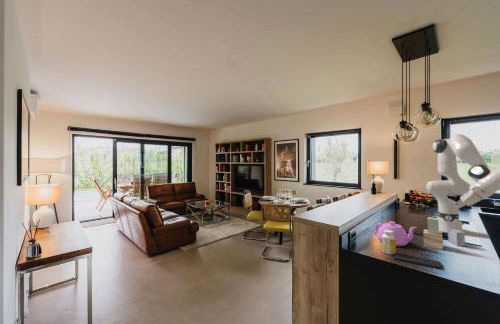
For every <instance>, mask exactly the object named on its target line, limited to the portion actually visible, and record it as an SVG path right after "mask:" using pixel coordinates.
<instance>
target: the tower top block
mask: <svg viewBox="0 0 500 324" xmlns="http://www.w3.org/2000/svg"><path fill="white" fill-rule="evenodd" d="M422 235H423V241H424V240H428V241H434V242H440V243H443V242H442V239H443V232H442V231H439V233H438V234H432V233H428V229H427V228H425V229H424V228H423V233H422Z"/></svg>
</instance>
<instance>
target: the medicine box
mask: <svg viewBox="0 0 500 324" xmlns="http://www.w3.org/2000/svg"><path fill="white" fill-rule="evenodd" d="M465 234H466V233H464V232H461V231H459V230H456V229H448V233H447V235H448V243H451V244H453V245H455V246H457V247H466V238H465V237H466V235H465Z"/></svg>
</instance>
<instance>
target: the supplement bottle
mask: <svg viewBox="0 0 500 324" xmlns="http://www.w3.org/2000/svg"><path fill="white" fill-rule="evenodd" d="M396 247H397V246H396V244H395V236H393V231H391V230H384V234H383V235H382V242H381V248H382V250H381V251H382V252H383V253H384V254H387V255H393V256H394V255H395V253H397V251H396V250H397V249H396Z"/></svg>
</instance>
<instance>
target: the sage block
mask: <svg viewBox="0 0 500 324" xmlns="http://www.w3.org/2000/svg"><path fill="white" fill-rule="evenodd" d="M426 220H427V230H428V233H432V234H438V233H439V232H440V231H439V225H438V217H430V216H429V217H427V219H426Z"/></svg>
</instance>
